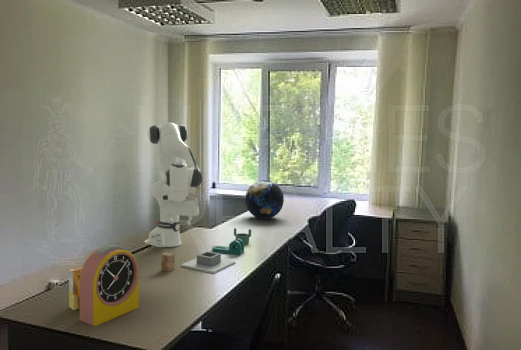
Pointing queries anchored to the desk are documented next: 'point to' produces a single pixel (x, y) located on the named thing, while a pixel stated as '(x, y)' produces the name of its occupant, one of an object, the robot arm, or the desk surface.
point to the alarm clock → (108, 285)
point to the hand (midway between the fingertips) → (179, 224)
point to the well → (208, 262)
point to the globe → (264, 199)
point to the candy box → (74, 288)
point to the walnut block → (167, 262)
